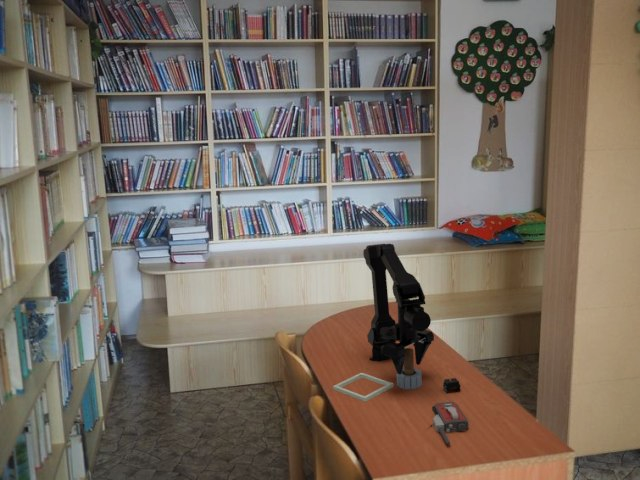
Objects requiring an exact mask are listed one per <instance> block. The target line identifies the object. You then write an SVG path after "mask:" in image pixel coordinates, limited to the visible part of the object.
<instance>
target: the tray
mask: <svg viewBox="0 0 640 480" xmlns="http://www.w3.org/2000/svg"><path fill="white" fill-rule="evenodd" d="M362 378H363V379H365V380H368V381H371V382H374V383H377V384H379V385H381V386H382V387H380V388H378V389H376V390H374V391H372V392H370V393H368V394H366V395H363V394H360V393H357V392H355V391H352V390H349V389H346V388H343V387H346V386H348V385H349V384H351V383H354V382H356V381H357V380H360V379H362ZM392 388H394V383H393V382H390V381H388V380H384V379H381V378H379V377H376V376H373V375H369V374H367V373H364V372H360V373H358V374H356V375H353V376H351V377H349V378H347V379H345V380H343V381H341V382H339V383H337V384H335V385H333V386H332V390H333V391H336V392H339V393H341V394H343V395H347V396H348V397H352V398H354V399H357V400H359V401H362V402H364V403H365V402H367V401H370V400H372V399H373V398H376V396H378V395H382V394H383V393H384V392H386V391H389V390H390V389H392Z"/></svg>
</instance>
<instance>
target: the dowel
mask: <svg viewBox="0 0 640 480" xmlns="http://www.w3.org/2000/svg"><path fill="white" fill-rule="evenodd" d="M404 355H405V360H404V365H403V368H404V375H409V376H410V375H414V368H415V363H414V362H415V360H414V359H415V357H414V356H415V352H414V349H413V348H412V347H411V348H410V347H409V348H408V347H406V348H405V353H404Z"/></svg>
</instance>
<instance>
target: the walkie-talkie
mask: <svg viewBox="0 0 640 480" xmlns="http://www.w3.org/2000/svg"><path fill="white" fill-rule="evenodd" d="M431 409H432V412H433V413H434V417H433V419H432V422H433V427H434V429H435V432H436V433H440V434H441V437H442V439H443V440H444V442H445V443H446V445H449V446H450V445H451V441H450V439H449V438H448V436H447V434H446V433H450V432H451V433H452V432H464V431H468V430H469V420H468V419H467V417H466V415H465V414H464V412H463V411H462V410H461V409H460V407H459V404H457V403H456V402H455V401H445V402H444V401H443V402H436V403H435V404H434V405H433V406H432V407H431Z"/></svg>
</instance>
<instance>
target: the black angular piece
mask: <svg viewBox="0 0 640 480" xmlns="http://www.w3.org/2000/svg"><path fill="white" fill-rule="evenodd" d="M461 387H462V385H461V384H460V381H459V380H458V379H457V378H456V377H453V378H452V377H451V378H450V379H449V378H445V379H443V383H442V390H443V391H444V392H445V394H450V393H451V392H450V391H449V390H451V389H453V390H455V389H456V390H455V392H456V393H458V392H459V393H461Z"/></svg>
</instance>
